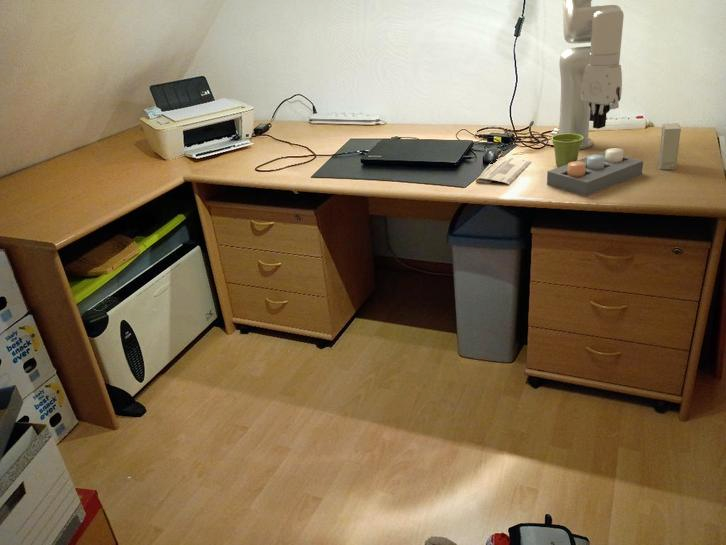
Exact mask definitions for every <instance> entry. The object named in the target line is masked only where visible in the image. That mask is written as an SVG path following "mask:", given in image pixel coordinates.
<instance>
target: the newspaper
mask: <svg viewBox="0 0 726 545" xmlns="http://www.w3.org/2000/svg"><path fill="white" fill-rule="evenodd" d="M496 160H497V161H496V162H495V163H493V164H490V163H489V164H488V165H487V166H486V167H485V169H484V170H482V173H481V174H480V175H479V176H478V177H477V178H476V179H475V182H476V183H484V184H491V182H492V181H495V182H496V181H497V182H501V183H505V184H506V185H507V186H510V185H511V184H512V183H513V182H514V181H515V180H516V179H517V178H518V177H519V176H520V175H521V174H522V173H523V172H524V171H525V170H526V168H528V167H529V165H530V164H531V163H532V161H530V160H528V159H524V158H518V157H510V156H501V157H499V158H498V159H496Z"/></svg>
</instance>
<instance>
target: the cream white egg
mask: <svg viewBox="0 0 726 545" xmlns="http://www.w3.org/2000/svg"><path fill="white" fill-rule="evenodd" d="M605 152H606V154H605V162H609V163H613V164H617V163H620V162H622V160H623V156H624V149H622V148H619V147H617V148H616V147H614V148H613V147H612V148H608V149H605Z"/></svg>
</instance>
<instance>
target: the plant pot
mask: <svg viewBox="0 0 726 545" xmlns="http://www.w3.org/2000/svg"><path fill="white" fill-rule="evenodd" d="M551 140H552V144H553V147H554V148H553V149H554V157H555V158H554V159H555V165H556V166H558V167H561V166H564V165H567V164H568V163H570V162H575V161H578V157H579V153H580V152H579V151H580V149H579V148H580V144H581V142H582V140H583V136H582V135H579V134H571V133H568V134H558V135H555V136H554V135H552V136H551Z"/></svg>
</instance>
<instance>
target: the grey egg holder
mask: <svg viewBox="0 0 726 545" xmlns="http://www.w3.org/2000/svg"><path fill="white" fill-rule="evenodd" d="M605 154H606V151H601V152H598V153H596V154H594V155H603V156H605ZM587 157H588V156H587ZM587 157H584V158H581V159H577V161H579V162H584V163H586V167H587ZM643 167H644V160H641V159H636V158H632V157H629V156H624V155H623V160H622V162H620V163H617V164H613V163H609V162H605V164H604V169H601V170H598V171H595V170H591V169H587V168H586V170H585V176H582V177H580V178H575V177H571V176H568V175H567V171H568V164H567V165H564V166H561V167H560V166H558V167H556V168H553V169H550V170H547V171H546V172H547V173H546V174H547V175H546V185H547V186H551V187H554V188H558V189H560V190H562V191H564V190H565V191H567V192H571V193H574V194H577V195H580V196H583V197H588V196H591V195H592V194H595V193H598V192H601V191H604V190H605V189H607V188H610V187H613V186H616V185H618V184H620V183H622V182H626V181H628V180H630V179H633V178H636V177H638V176H641V175H642V174H643V170H644V169H643Z"/></svg>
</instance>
